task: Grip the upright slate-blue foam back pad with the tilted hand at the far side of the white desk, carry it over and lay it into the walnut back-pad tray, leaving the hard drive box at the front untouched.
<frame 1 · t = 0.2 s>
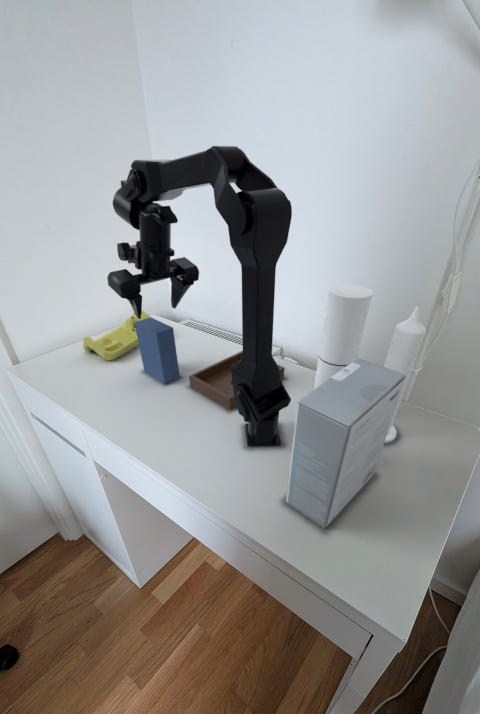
hand: (156, 312, 76), 15 cm above the table, tool tilted 15°, fingers open, 9 cm apart
white nozzle bottle: (376, 432, 68), on the table
hard drive box: (330, 489, 56), on the table
cylindrical container: (327, 410, 73), on the table
pad tray: (237, 382, 82), on the table
back pad: (161, 374, 85), on the table
plastic component: (124, 346, 98), on the table
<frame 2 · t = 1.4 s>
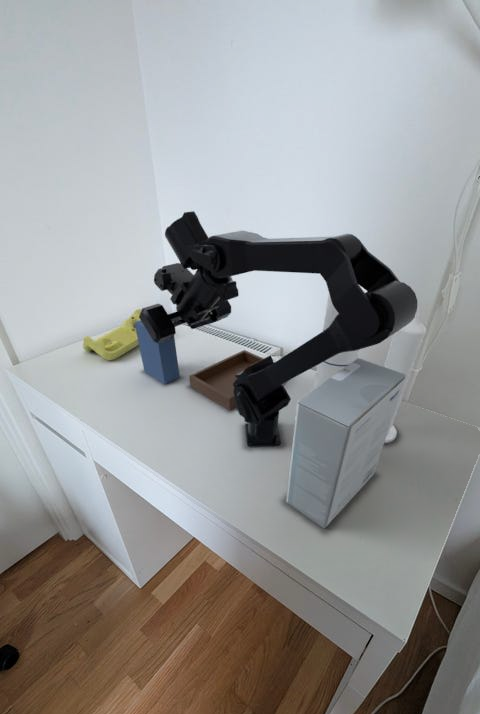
hand: (174, 333, 72), 13 cm above the table, tool tilted 45°, fingers open, 9 cm apart
nothing on the table moved.
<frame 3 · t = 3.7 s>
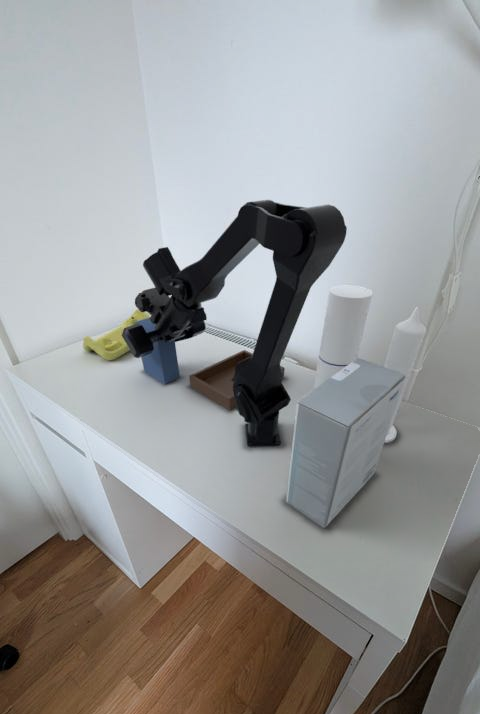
hand: (155, 346, 81), 7 cm above the table, tool tilted 45°
back pad: (161, 374, 85), on the table, touching gripper
everything else where it was.
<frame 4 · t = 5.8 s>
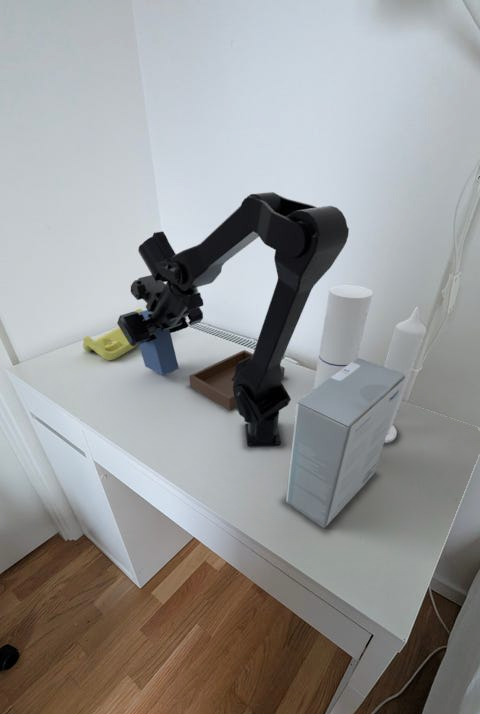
hand: (152, 336, 80), 10 cm above the table, tool tilted 45°, fingers closed on back pad, 5 cm apart
back pad: (161, 367, 84), point 2 cm above the table, tilted 8°, touching gripper
everything else where it was.
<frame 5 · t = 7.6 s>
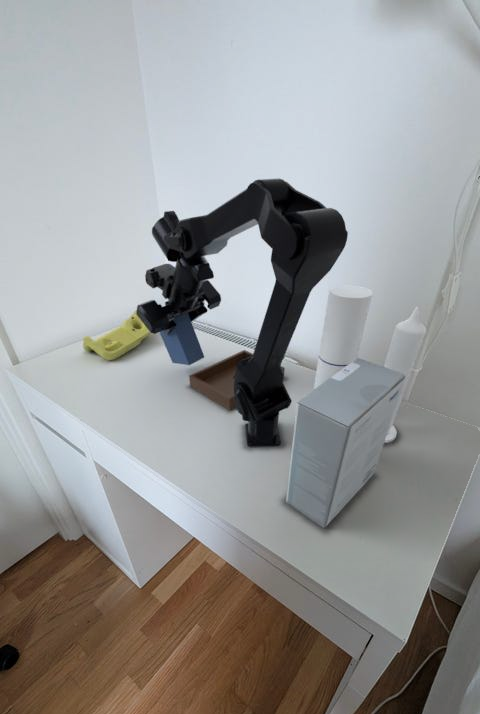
hand: (174, 329, 79), 11 cm above the table, tool tilted 35°, fingers closed on back pad, 5 cm apart
back pad: (188, 360, 83), point 4 cm above the table, tilted 20°, touching gripper
everything else where it was.
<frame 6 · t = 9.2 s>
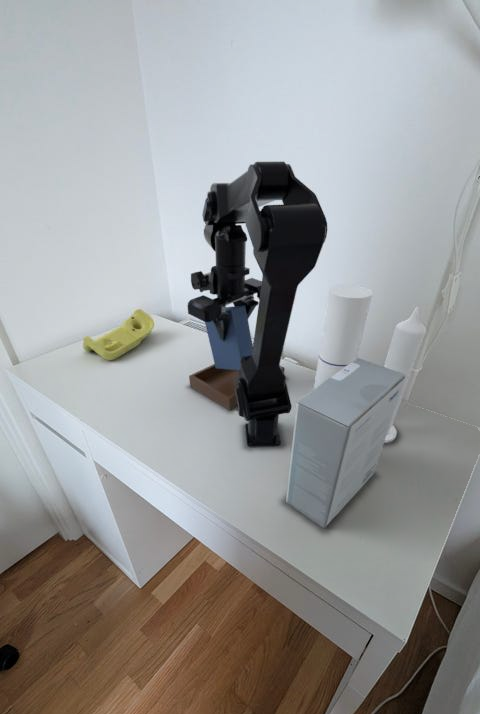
hand: (230, 336, 76), 11 cm above the table, tool pointing down, fingers closed on back pad, 5 cm apart
back pad: (235, 366, 79), point 5 cm above the table, tilted 17°, touching gripper
everything else where it was.
when the fingers open (9 cm above the table, at t = 11.3 s): back pad stays where it is, resting on pad tray.
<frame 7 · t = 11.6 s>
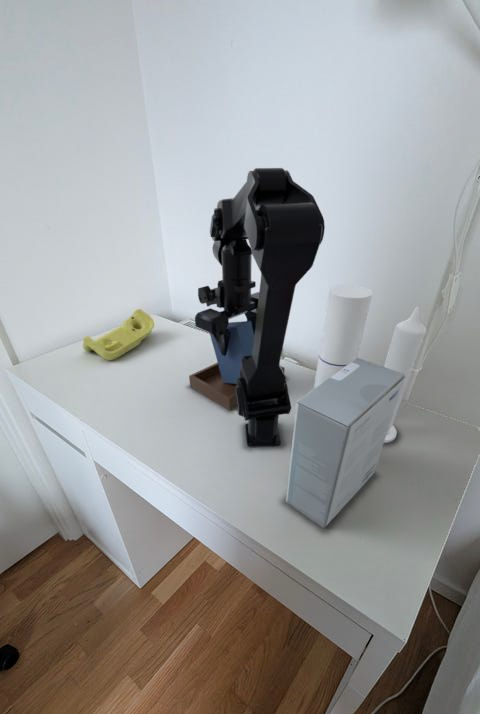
hand: (237, 348, 76), 9 cm above the table, tool pointing down, fingers open, 8 cm apart
back pad: (242, 380, 79), point 2 cm above the table, tilted 18°, touching pad tray
everything else where it was.
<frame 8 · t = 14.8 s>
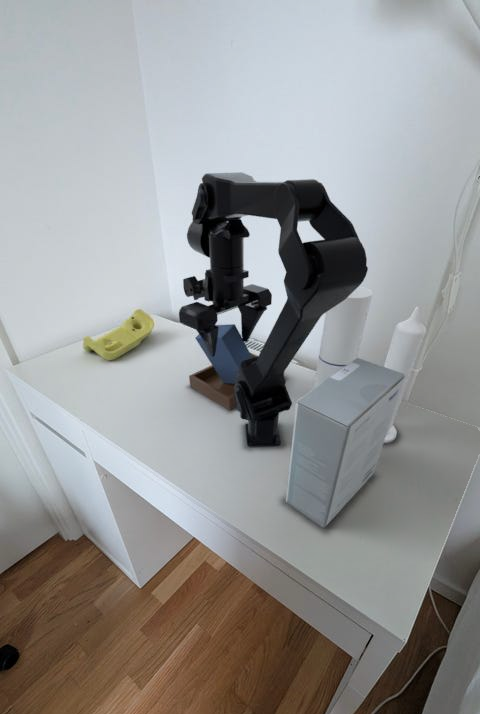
hand: (229, 348, 67), 13 cm above the table, tool pointing down, fingers open, 9 cm apart
back pad: (241, 377, 78), point 3 cm above the table, tilted 26°, touching pad tray
everything else where it was.
at the end: back pad inside the target area in the pad tray (2.4 cm from its centre), point 2.7 cm above the pad tray's base; the gripper is holding nothing; hard drive box moved 0.2 cm from its start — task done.
